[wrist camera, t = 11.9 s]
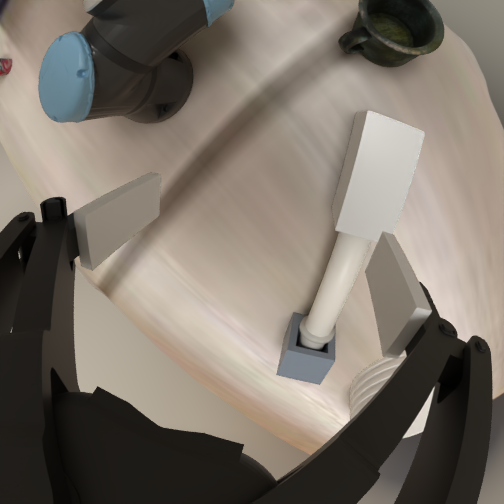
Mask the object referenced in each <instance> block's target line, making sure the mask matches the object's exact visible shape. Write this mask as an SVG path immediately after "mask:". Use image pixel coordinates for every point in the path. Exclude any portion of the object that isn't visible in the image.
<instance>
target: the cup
mask: <svg viewBox="0 0 504 504" xmlns="http://www.w3.org/2000/svg"><path fill="white" fill-rule="evenodd" d="M11 66H12V60H11V59H0V76H1V75H5V74H8V73H9V71H10V69H11Z"/></svg>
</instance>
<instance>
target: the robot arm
mask: <svg viewBox="0 0 504 504" xmlns="http://www.w3.org/2000/svg"><path fill="white" fill-rule="evenodd" d="M83 3H84V11H85V12H87V13H89V14H91V15H93V16H94V17H93V18H92V19H91V20H90V21H89V23H88V24H87V25H86V26H85V27H84V28H83V30H82V31H81V32H75V31H73V32H70V33H66V34H64V35H62V36H60V37H58V38H57V39H56V40H55V41H54V42H53V43H52V45H51V46H50V47H49V49H48V51H47V52H46V55H45V57H44V59H43V62H42V65H41V69H40V74H39V87H38V88H39V98H40V102H41V105H42V108H43V110H44V111H45V113H46V114H47V116H48V117H49V118H50V119H52V120H54V121H56V122H61V123H64V122H76V123H78V122H81V121H84V120H91V119H97V118H104V117H112V116H120V115H122V116H124V117H127V118H129V119H131V120H133V121H136V122H140V123H154V122H160V121H163V120H165V119H168V118H169V117H171V116H172V115H174V114H175V113H176V112H177V111H178V110H179V109H180V108H181V107H182V106H183V105H184V103H185V102H186V100H187V98H188V96H189V94H190V91H191V88H192V83H193V70H192V66H191V63H190V61H189V59H188V57H187V56H186V55H185V54H184V53H183V52H182V51H181V50H179V49H178V48H179V47H180V46H181V45H183V44H184V43H185V42H187V41H188V40H189V39H191V38H192V37H193V36H195V35H196V34H197V33H199V32H200V31H201V30H203V29H204V28H206V27H209V26H211V25H212V22H214V21H215V20H216V19H218V18H219V17H220V16H222V15H223V14H225V13H226V12H228V11H229V10H230V9H231V8H232V6H233V4H234V0H83ZM160 189H161V174H158V173H152V172H150V173H148V174H146V175H144V176H142V177H140V178H137V179H135V180H133V181H131V182H129V183H127V184H125V185H123V186H121V187H119V188H117V189H115V190H113V191H111V192H109V193H107V194H105V195H103V196H101V197H100V198H98V199H96V200H94V201H92V202H90V203H89V204H87V205H85V206H83V207H81V208H80V209H78V210H76V211H74V212H73V213H72V214H70V215H68V216H67V207H66V199H65V198H63V197H53V198H49V199H47V200H45V201H43V202H42V203H41V204H40V207H41V214H42V220H43V222H36V221H35V215H34V213H32V212H23V213H20V214H19V215H17V216H16V217H14V218H13V219H12V220H11V221H10V222H9V224H8V225H7V226H6V227H5V228H4V229H3V230H2V231H1V232H0V504H357V503H358V501H359V500H360V499H361V498H362V497H363V496H364V495H365V494H366V493H367V492H368V491H369V490H370V488H371V487H372V486H373V485H374V484H375V482H376V481H377V480H378V478H379V476H380V473H379V472H378V470H379V468H380V466H381V465H382V464H383V463H384V461H385V460H386V459H387V458H388V457H389V455H390V454H391V453H392V452H393V450H394V449H395V448H396V446H397V445H398V443H399V442H400V441H401V439H402V438H403V437H404V435H405V434H406V432H407V431H408V429H409V428H410V426H411V425H412V423H413V422H414V420H415V419H416V417H417V415H418V414H419V412H420V411H421V409H422V407H423V406H424V404H425V402H426V401H427V399H428V397H429V395H430V394H431V392H432V390H433V388H434V392H433V396H432V401H431V405H430V409H429V413H428V416H427V420H426V423H425V427H424V430H423V433H422V437H421V440H420V443H419V446H418V449H417V451H416V454H415V457H414V460H413V462H412V465H411V467H410V470H409V472H408V475H407V477H406V479H405V482H404V484H403V486H402V489H401V491H400V493H399V495H398V497H397V499H396V501H395V503H394V504H477V501H478V497H479V494H480V489H481V486H482V482H483V477H484V472H485V467H486V461H487V456H488V449H489V440H490V431H491V419H492V363H491V352H490V348H489V346H488V344H487V342H485V340H484V339H482V338H480V337H478V336H472V337H471V338H470V339H469V341H468V342H467V343H466V342H464V341H462V340H460V339H458V338H457V335H458V334H457V331H456V329H455V328H454V326H453V325H452V324H451V323H450V322H448V321H447V320H445V319H443V318H440V316H439V314H438V311H437V309H436V307H435V305H434V303H433V300H432V298H430V297H431V296H430V294H429V292H428V290H427V289H426V287H425V286H424V285H423V284H422V283H421V282H419V281H418V279H417V277H416V275H415V273H414V271H413V269H412V267H411V265H410V263H409V261H408V259H407V258H406V256H405V254H404V252H403V250H402V248H401V246H400V245H399V243H398V241H397V239H396V237H395V236H394V235H393V234H390V233H387V232H384V231H382V233H381V236H380V238H379V241H378V243H377V245H376V248H375V250H374V252H373V255H372V257H371V259H370V262H369V264H368V266H367V268H366V270H365V273H366V277H367V281H368V285H369V289H370V294H371V298H372V302H373V307H374V312H375V316H376V321H377V327H378V332H379V337H380V343H381V349H382V355H383V357H389V358H395V359H398V358H399V356H400V355H401V354H402V353H403V351H404V350H405V351H406V355H407V357H406V358H405V359H404V361H403V362H402V363H401V364H400V365H399V367H398V368H397V369H396V370H395V371H394V372H393V374H392V375H391V377H390V378H389V379H388V380H387V381H386V383H385V384H384V385H383V386H382V387H381V388H380V390H379V391H378V392H377V393H376V394H375V395H374V396H373V397H372V399H371V400H370V401H369V402H368V403H367V404H366V405H365V406H364V407H363V408H362V409H361V410H360V411H359V412H358V413H357V414H356V415H355V416H354V417H353V418H352V419H351V420H350V421H349V422H348V423H347V424H346V425H345V426H344V427H343V428H342V429H341V430H340V431H339V432H338V433H337V434H335V435H334V436H333V437H332V438H331V439H330V440H329V441H328V442H327V443H325V444H324V445H323V446H322V447H321V448H320V449H318V450H317V451H316V452H315V453H314V454H312V455H311V456H310V457H309V458H307V459H306V460H305V461H304V462H302V463H301V464H300V465H299V466H297V467H296V468H294V469H293V470H291V471H290V472H289V473H287V474H286V475H284V476H283V477H281V478H280V479H279V480H277V481H276V480H275V479H274V477H273V476H272V475H271V473H269V472H268V470H267V469H266V468H265V467H263V466H262V465H261V464H260V463H258V462H257V461H256V460H254V459H253V458H251V457H249V456H248V455H246V454H244V453H242V450H243V446H244V444H240V443H236V442H232V441H229V440H225V439H221V438H218V437H215V436H212V435H208V434H205V433H198V432H188V431H181V430H174V429H168V428H163V427H160V426H158V425H157V424H155V423H154V422H153V421H151V420H150V419H149V418H147V417H146V416H145V415H143V414H142V413H141V412H139V411H138V410H137V409H136V408H135V407H133V406H132V405H131V404H130V403H128V402H126V401H124V400H122V399H120V398H118V397H117V396H115V395H112V394H111V393H109V392H107V391H105V390H103V389H101V388H100V387H97V388H96V390H95V391H94V392H93V394H92V393H86V392H80V390H79V386H78V382H77V374H76V364H75V349H74V313H73V312H74V280H75V261H74V259H75V258H76V257H77V256H80V262H81V266H83V267H85V268H87V269H90V270H92V271H93V270H94V269H95V268H96V267H97V266H98V265H100V264H101V263H102V262H103V261H104V260H105V259H107V258H108V257H109V256H110V255H111V254H112V253H114V252H115V251H116V250H117V249H118V248H120V247H121V246H122V245H123V244H124V243H126V242H127V241H128V240H129V239H130V238H132V237H133V236H134V235H135V234H137V233H138V232H139V231H140V230H142V229H143V228H144V227H146V226H147V225H148V224H149V223H151V222H152V221H153V220H155V219H156V218H157V217H158V216H159V210H160ZM18 252H19V253H20V257H21V258H20V259H19V254H18ZM12 327H13V328H12ZM11 329H12V333H10V331H11ZM434 386H435V387H434Z"/></svg>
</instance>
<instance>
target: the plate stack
mask: <svg viewBox="0 0 504 504" xmlns="http://www.w3.org/2000/svg"><path fill="white" fill-rule="evenodd" d="M406 357H407V355H406V351H403V353H402V354H401V355H400V356H399V358H398V359H395V358H389V357H384V358H382V359H380V360H378V361H376V362H374V363H372V364H370V365H369V366H367V367H366V368H365V369H363V370H362V371H361V372H360V373H359V374H358V375H357V376H356V377H355V379H354V380H353V382H352V384H351V387H350V420H351V419H352V418H353V417H354V416H355V415H356V414H357V413H358V412H359V411H360V410H361V409H362V408H363V407H364V406H365V405H366V404H367V403H368V402H369V401H370V400H371V399H372V397H373V396H374V395H375V394H376V393H377V392H378V391H379V390H380V388H381V387H382V386H383V385H384V384H385V383H386V381H387V380H388V379H389V378H390V377H391V375H392V374H393V372H394V371H395V370H396V369H397V368H398V367H399V365H400V364H401V363H402V362H403V361H404V359H405V358H406ZM434 387H435V386H434ZM433 392H434V388H433V390H432V392H431V394H430V395H429V397H428V399H427V401H426V402H425V404H424V406H423V407H422V409H421V411H420V412H419V414H418V415H417V417H416V419H415V420H414V422H413V423H412V425H411V426H410V428H409V429H408V431H407V432H406V434H405V435H404V437H403V438H406V437H409V436H413V435H415V434H418V433H420V432H423V430H424V427H425V423H426V420H427V416H428V413H429V409H430V405H431V401H432V396H433Z"/></svg>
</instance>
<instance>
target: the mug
mask: <svg viewBox="0 0 504 504" xmlns="http://www.w3.org/2000/svg"><path fill="white" fill-rule="evenodd" d="M443 38H444V25H443V21H442V19H441V16H440V14H439V13H438V11H437V10H436V8H435V7H434V6H433V4H432V3H431V2H430V1H429V0H359V12H358V15H357V18H356V21H355V23H354V26H353V30H352V31H350V32H348V33H345V34H344V35H343V36H341V37H340V39H339V41H338V42H339V45H340V47H341V49H342V50H343V51H344V52H345V53H348V54H353V53H357V52H361V53H362V54H363V55H364V56H365V57H366V58H367V59H369V60H370V61H372V62H374V63H376V64H378V65H382V66H386V67H397V66H401V65H403V64H405V63H407V62H409V61H410V60H412V59H414V58H415V57H417V56H419V55H424V54H428V53H431V52H433V51H435V50H436V49H437V48H438V47H439V46H440V45H441V43H442V41H443Z"/></svg>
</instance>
